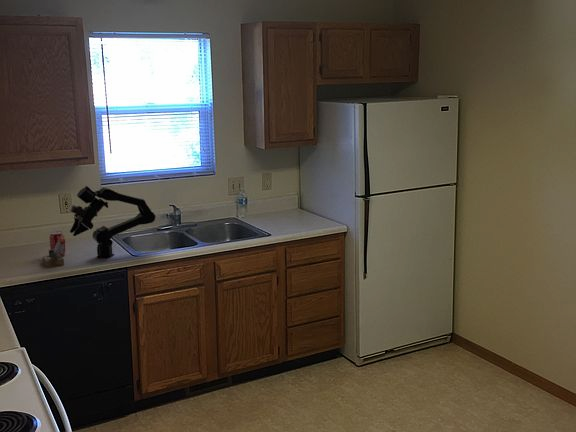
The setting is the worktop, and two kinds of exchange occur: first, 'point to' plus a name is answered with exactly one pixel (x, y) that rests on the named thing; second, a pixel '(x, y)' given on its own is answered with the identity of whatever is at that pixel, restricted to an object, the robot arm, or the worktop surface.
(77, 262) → the worktop surface
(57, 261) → the switch block
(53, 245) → the soda can
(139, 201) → the robot arm
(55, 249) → the copper roller
